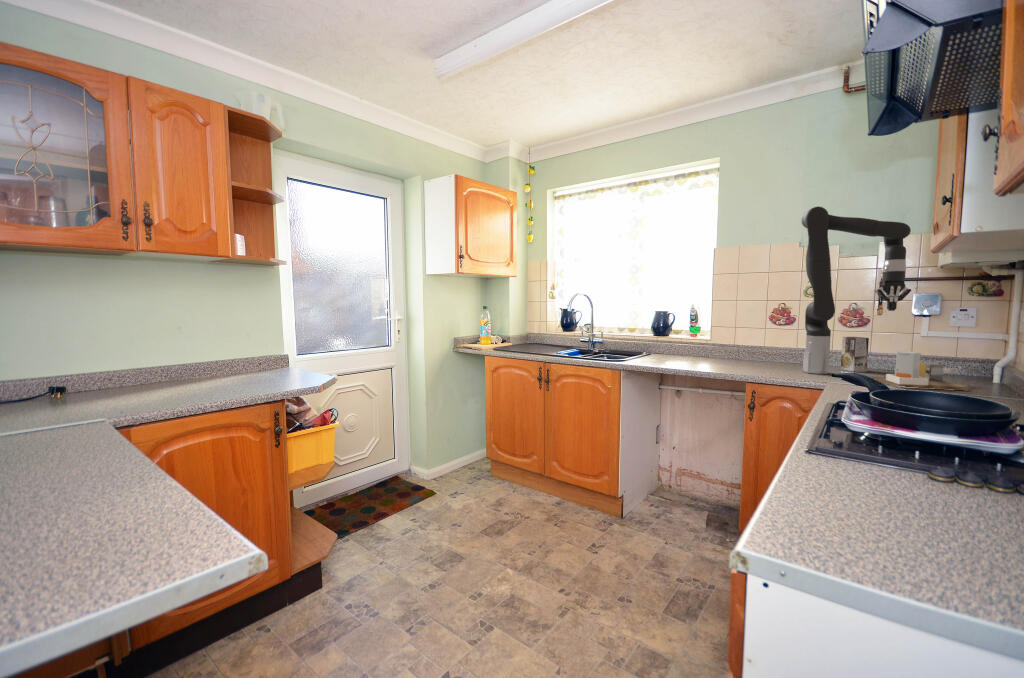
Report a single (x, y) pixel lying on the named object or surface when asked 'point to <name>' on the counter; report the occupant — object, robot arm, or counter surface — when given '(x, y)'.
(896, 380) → the sleeve
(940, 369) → the bearing block
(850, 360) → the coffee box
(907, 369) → the skincare box
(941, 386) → the base plate
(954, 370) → the shaft
